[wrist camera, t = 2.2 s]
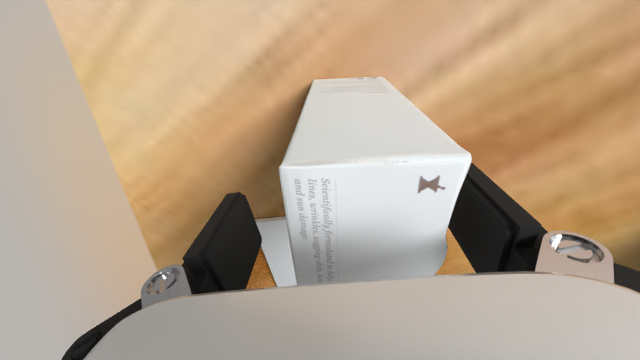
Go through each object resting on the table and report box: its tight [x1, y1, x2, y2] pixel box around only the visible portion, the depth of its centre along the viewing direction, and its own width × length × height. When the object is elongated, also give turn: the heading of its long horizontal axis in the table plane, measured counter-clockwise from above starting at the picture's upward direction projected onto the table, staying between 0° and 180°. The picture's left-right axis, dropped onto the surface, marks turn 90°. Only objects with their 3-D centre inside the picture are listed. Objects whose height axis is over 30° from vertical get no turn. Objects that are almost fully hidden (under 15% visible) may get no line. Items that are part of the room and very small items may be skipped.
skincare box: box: [279, 77, 472, 285], centre depth 15 cm, size 8×6×15 cm
